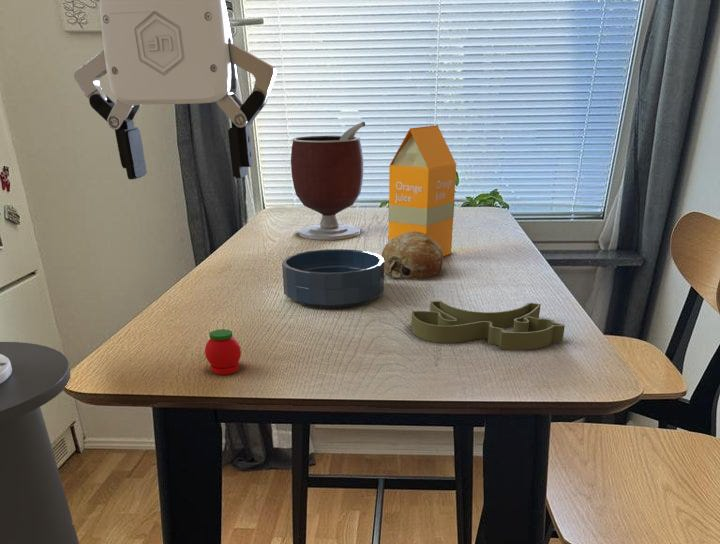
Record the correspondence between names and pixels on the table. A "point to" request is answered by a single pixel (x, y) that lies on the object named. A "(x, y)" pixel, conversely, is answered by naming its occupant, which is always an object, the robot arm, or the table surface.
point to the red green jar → (223, 352)
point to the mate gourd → (328, 180)
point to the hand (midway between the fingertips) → (189, 176)
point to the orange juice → (423, 187)
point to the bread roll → (412, 256)
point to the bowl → (333, 277)
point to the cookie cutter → (487, 326)
